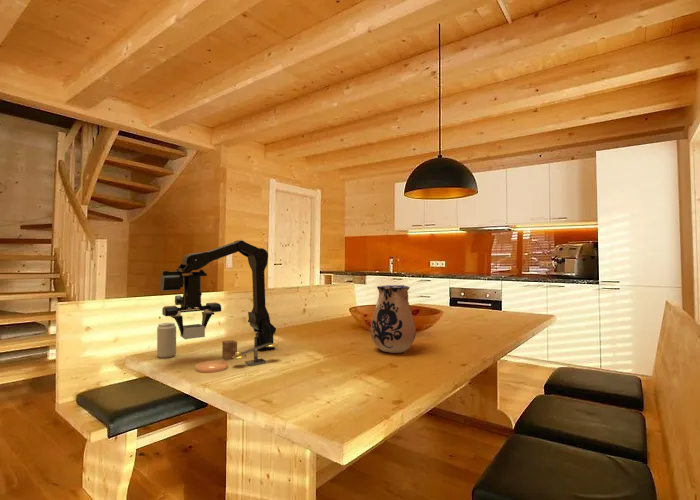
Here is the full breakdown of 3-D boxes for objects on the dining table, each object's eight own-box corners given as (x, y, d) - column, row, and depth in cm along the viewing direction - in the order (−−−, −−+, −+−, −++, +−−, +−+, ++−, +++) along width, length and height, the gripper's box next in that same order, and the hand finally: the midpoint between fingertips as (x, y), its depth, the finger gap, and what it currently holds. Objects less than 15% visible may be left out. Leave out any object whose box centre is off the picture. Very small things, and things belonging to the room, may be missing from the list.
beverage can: (168, 358, 145) (169, 325, 145) (153, 358, 146) (153, 324, 146) (179, 354, 151) (179, 322, 151) (164, 353, 152) (164, 321, 152)
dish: (222, 362, 140) (222, 358, 140) (232, 369, 132) (232, 365, 132) (192, 367, 134) (192, 363, 134) (200, 374, 126) (200, 370, 126)
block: (233, 356, 149) (233, 339, 149) (237, 358, 145) (237, 341, 145) (222, 357, 146) (222, 341, 146) (226, 360, 143) (226, 343, 143)
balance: (274, 358, 145) (274, 340, 145) (279, 361, 142) (279, 342, 142) (230, 365, 136) (230, 346, 136) (235, 368, 132) (235, 349, 132)
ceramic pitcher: (364, 353, 152) (364, 287, 152) (381, 342, 172) (381, 283, 172) (410, 358, 145) (410, 289, 145) (422, 345, 165) (422, 284, 165)
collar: (199, 333, 147) (199, 323, 147) (204, 336, 141) (204, 326, 141) (180, 336, 143) (180, 325, 143) (185, 339, 138) (185, 328, 138)
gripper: (212, 286, 154) (212, 327, 154) (159, 289, 143) (159, 333, 143) (221, 288, 145) (221, 331, 145) (165, 291, 134) (165, 338, 134)
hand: (192, 333), depth 142 cm, fingers closed on collar, 7 cm apart
